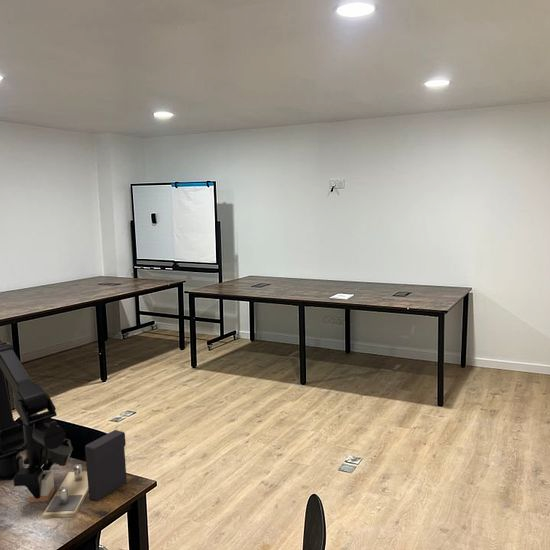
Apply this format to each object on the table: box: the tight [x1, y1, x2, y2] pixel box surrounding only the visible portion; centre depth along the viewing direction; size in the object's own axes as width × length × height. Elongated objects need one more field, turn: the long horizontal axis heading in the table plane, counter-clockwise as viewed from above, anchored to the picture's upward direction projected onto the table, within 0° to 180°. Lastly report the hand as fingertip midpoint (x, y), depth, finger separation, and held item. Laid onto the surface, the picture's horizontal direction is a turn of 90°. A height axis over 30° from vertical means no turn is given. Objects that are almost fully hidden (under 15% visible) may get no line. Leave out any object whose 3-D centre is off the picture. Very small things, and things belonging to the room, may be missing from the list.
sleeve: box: [26, 469, 56, 503], centre depth 145 cm, size 5×5×6 cm
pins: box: [58, 463, 83, 505], centre depth 145 cm, size 2×14×4 cm, turn 3°
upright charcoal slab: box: [84, 429, 128, 501], centre depth 146 cm, size 11×4×15 cm, turn 151°
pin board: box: [42, 470, 89, 519], centre depth 145 cm, size 8×21×1 cm, turn 3°
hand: (41, 492), depth 145 cm, fingers closed on sleeve, 5 cm apart
